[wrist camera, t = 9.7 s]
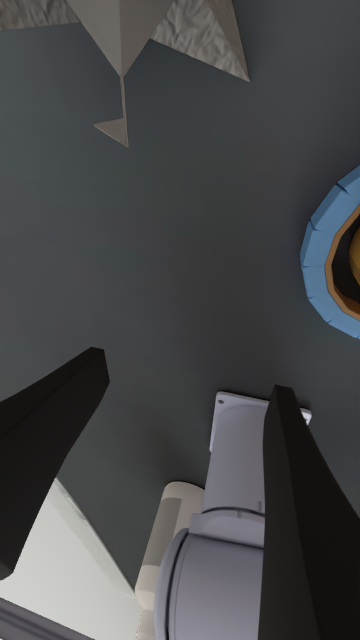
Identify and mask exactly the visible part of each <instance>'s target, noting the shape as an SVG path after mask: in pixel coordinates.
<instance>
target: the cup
mask: <svg viewBox="0 0 360 640" xmlns="http://www.w3.org/2000/svg"><path fill="white" fill-rule="evenodd" d="M349 265H350V267H351V271H352V273H353V275H354V277H355V278H356V280H357V282H358V284H359V285H360V227H359V228H358V229H357V231H356V233H355V234H354V236H353V239H352V241H351V244H350V247H349Z"/></svg>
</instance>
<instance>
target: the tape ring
mask: <svg viewBox="0 0 360 640" xmlns="http://www.w3.org/2000/svg"><path fill="white" fill-rule="evenodd" d="M338 184H339V186H338V185H334V186H333V188H332V189H331V190H330V192H329V193H328V195H327V196H326V197H325V199H324V200H323V202H322V203H321V204H320V206H319V207H318V208H317V210H316V211H315V213H314V214H313V215H312V217H311V221H309V222H308V226H307V229H306V233H305V237H304V240H303V244H302V248H301V251H300V262H301V267H302V273H303V278H304V284H305V288H306V293H307V297H308V298H309V301H310V302H311V303H312V305H313V306H314V307H315V308H316V310H317V311H318V312H319V314H320V315H321V316H322V317H323V319H324V320H325V321H326V322H328V324H330V325H332V326H333V327H335V328H337V329H339V330H341V331H343V332H345V333H347V334H349V335H351V336H353V337H354V338H357V337H358V339H360V304H359V303H358V302H356V301H354V300H352V299H350V298H348V297H346V296H344V295H342V294H341V292H340V291H339V289H338V288H337V287H336V285H335V284H334V283H333V276H332V268H331V264H332V261H333V258H334V255H335V252H336V249H337V247H338V244H339V241H340V238H341V236H342V235H343V234H344V232H345V231H346V230H347V229H348V228H349V226H350V225H351V224H352V223H353V222H354V220H355V219H356V218H357V217H358V216H359V214H360V165H359V166H358V167H357V168H355V169H354V170H353V171H351V172H350V173H349V174H347V175H346V176H345V177H343V178H342V179H341V180H339V181H338Z"/></svg>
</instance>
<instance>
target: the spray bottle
mask: <svg viewBox="0 0 360 640" xmlns="http://www.w3.org/2000/svg"><path fill="white" fill-rule="evenodd" d="M204 491H205V490H203V489H202V488H200V487H198V486H195V485H193V484H190V483H186V482H179V481H178V482H171V483H168V485H167V486H166V487H165V489H164V492H163V496H162V499H161V502H160V506H159V509H158V512H157V516H156V519H155V523H154V526H153V529H152V533H151V536H150V539H149V543H148V546H147V550H146V553H145V556H144V560H143V563H142V566H141V570H140V573H139V577H138V580H137V583H136V587H135V594H136V598H137V600H138V601H139V603H140V605H141V607H142V609H143V611H142V615H141V619H140V623H139V626H138V630H137V637H136V640H156V634H155V628H154V598H155V589H156V583H157V578H158V573H159V569H160V566H161V562H162V559H163V556H164V554H165V551H166V549H167V547H168V545H169V544H170V542H171V541H172V539H173V538H174V537H175V535H176V534H177V533H178V532H179V531H180V530H181V529H182V528H189V526H190V521H191V516H192V514H193V513H196V514H200V513H201V508H202V502H203V497H204Z"/></svg>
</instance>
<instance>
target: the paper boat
mask: <svg viewBox="0 0 360 640" xmlns="http://www.w3.org/2000/svg"><path fill="white" fill-rule="evenodd" d="M79 22H82V24H83V25H84V26H85V28H86V29H87V31H88V32H89V34H90V35H91V36H92V38H93V39H94V41H95V42H96V44H97V45H98V46H99V48H100V49H101V51H102V52H103V53H104V55H105V56H106V58H107V59H108V61H109V62H110V63H111V65H112V66H113V68H114V69H115V70H116V72H117V73H118V75H119V76H120V79H121V92H122V105H123V118H122V119H117V120H112V121H107V122H102V123H97V124H93V126H95V127H96V128H98V129H100V130H101V131H103V132H104V133H106V134H107V135H109V136H110V137H112V138H113V139H115V140H117V141H118V142H120V143H121V144H123V145H124V146H126V147H129V145H128V132H127V119H126V105H125V92H124V78H123V77H124V76H125V74H126V73H127V71H128V70H129V68H130V67H131V65H132V64H133V62H134V61H135V59H136V58H137V56H138V55H139V53H140V52H141V50H142V49H143V47H144V46H145V44H146V43H147V41H148V40H149V38H150V39H153V40H155V41H157V42H159V43H162V44H164V45H166V46H168V47H171V48H173V49H175V50H178V51H180V52H182V53H184V54H187V55H189V56H191V57H193V58H196V59H198V60H200V61H203V62H205V63H207V64H209V65H212V66H214V67H216V68H218V69H221V70H223V71H225V72H228V73H230V74H232V75H234V76H237V77H239V78H241V79H243V80H246V81H248V82H250V79H249V75H248V70H247V66H246V61H245V57H244V52H243V48H242V44H241V39H240V35H239V30H238V26H237V21H236V17H235V12H234V8H233V4H232V0H0V31H1V30H11V29H20V28H30V27H40V26H50V25H59V24H69V23H79Z"/></svg>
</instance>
